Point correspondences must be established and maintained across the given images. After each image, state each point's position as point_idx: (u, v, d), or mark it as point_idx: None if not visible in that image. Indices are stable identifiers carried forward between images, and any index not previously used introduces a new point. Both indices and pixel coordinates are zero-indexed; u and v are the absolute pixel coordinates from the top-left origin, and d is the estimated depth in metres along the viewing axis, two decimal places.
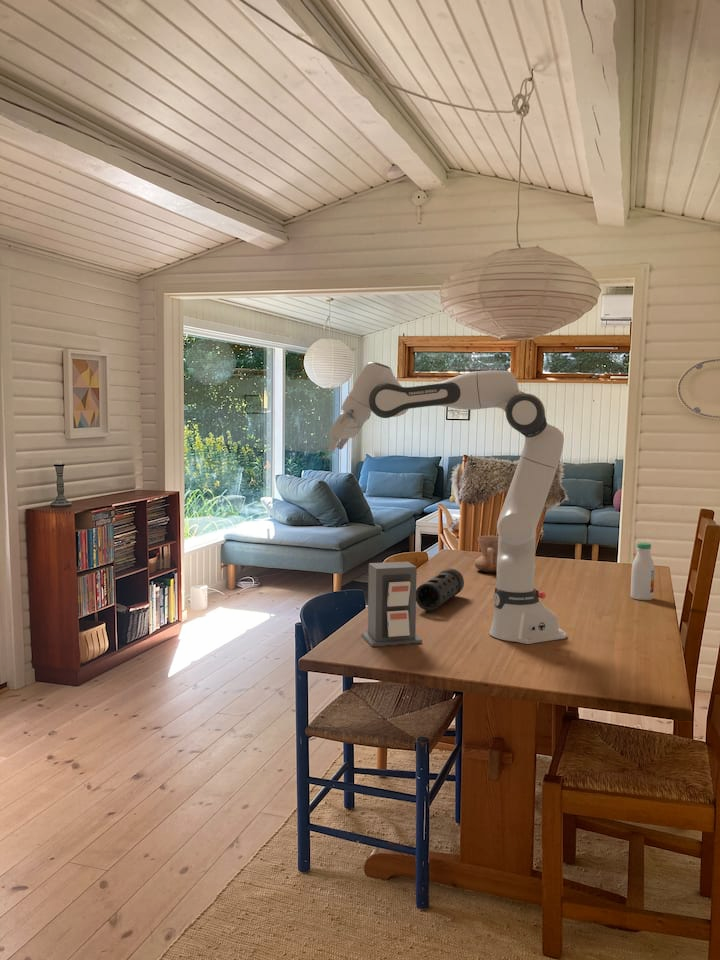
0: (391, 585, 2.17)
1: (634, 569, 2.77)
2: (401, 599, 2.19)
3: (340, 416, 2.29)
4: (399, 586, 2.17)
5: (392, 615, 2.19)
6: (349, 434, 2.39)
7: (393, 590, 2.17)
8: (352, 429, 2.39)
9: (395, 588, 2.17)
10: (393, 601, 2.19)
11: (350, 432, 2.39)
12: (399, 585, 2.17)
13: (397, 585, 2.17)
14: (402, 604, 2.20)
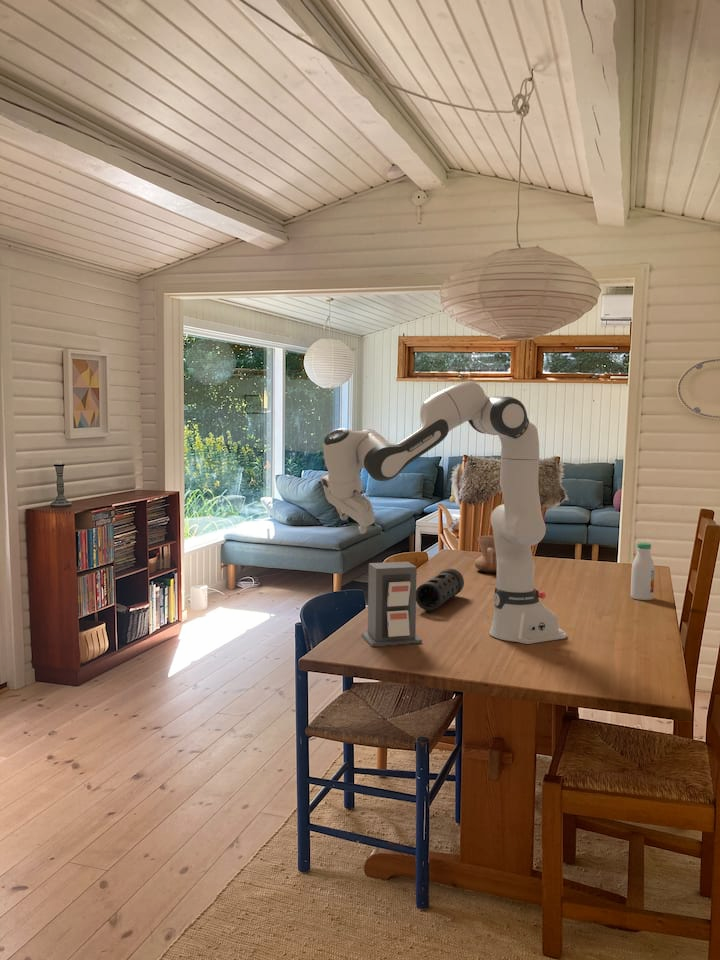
0: (391, 585, 2.17)
1: (634, 569, 2.77)
2: (401, 599, 2.19)
3: (362, 507, 2.09)
4: (399, 586, 2.17)
5: (392, 615, 2.19)
6: None
7: (393, 590, 2.17)
8: None
9: (395, 588, 2.17)
10: (393, 601, 2.19)
11: None
12: (399, 585, 2.17)
13: (397, 585, 2.17)
14: (402, 604, 2.20)
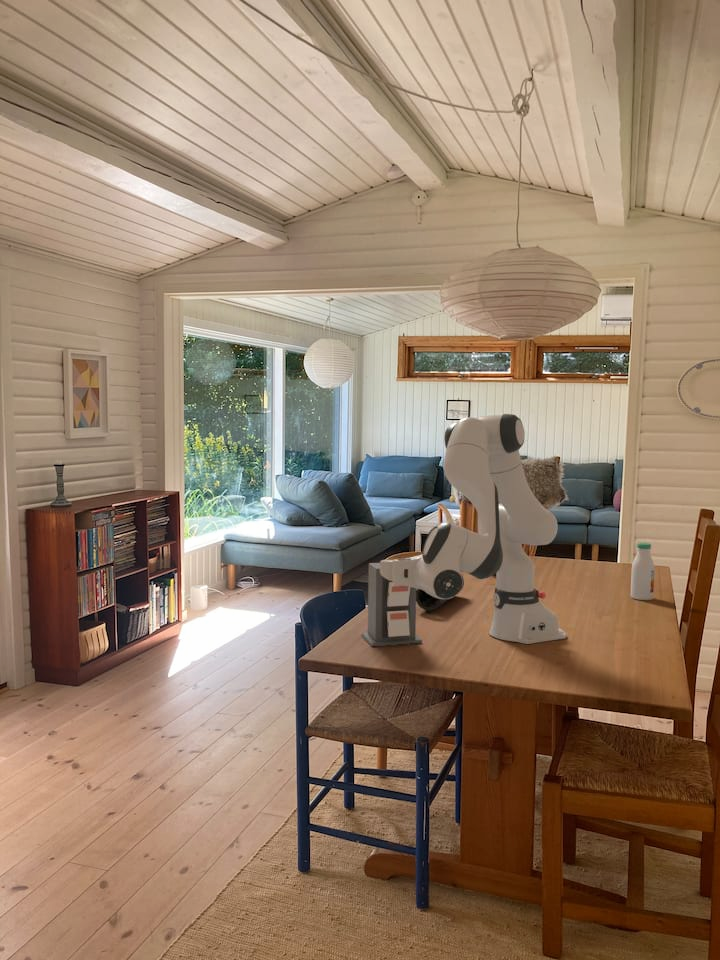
0: (391, 585, 2.17)
1: (634, 569, 2.77)
2: (401, 599, 2.19)
3: None
4: (399, 586, 2.17)
5: (392, 615, 2.19)
6: None
7: (393, 590, 2.17)
8: None
9: (395, 588, 2.17)
10: (393, 601, 2.19)
11: None
12: None
13: None
14: (402, 604, 2.20)
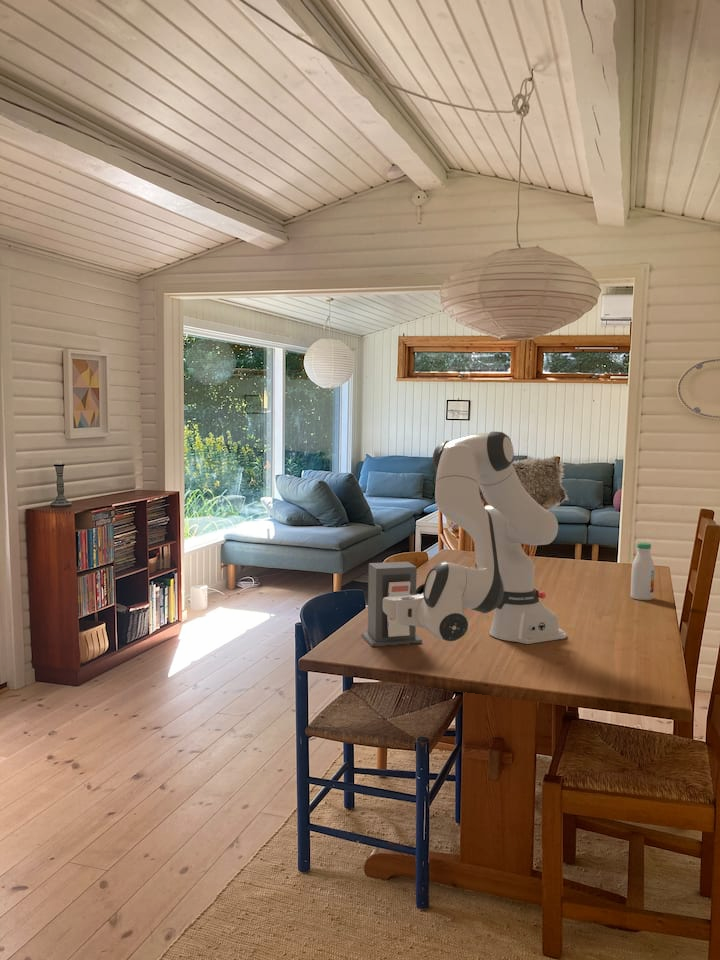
0: (391, 585, 2.17)
1: (634, 569, 2.77)
2: None
3: None
4: (399, 586, 2.17)
5: None
6: None
7: (393, 590, 2.17)
8: None
9: (395, 588, 2.17)
10: None
11: None
12: (399, 585, 2.17)
13: (397, 585, 2.17)
14: None
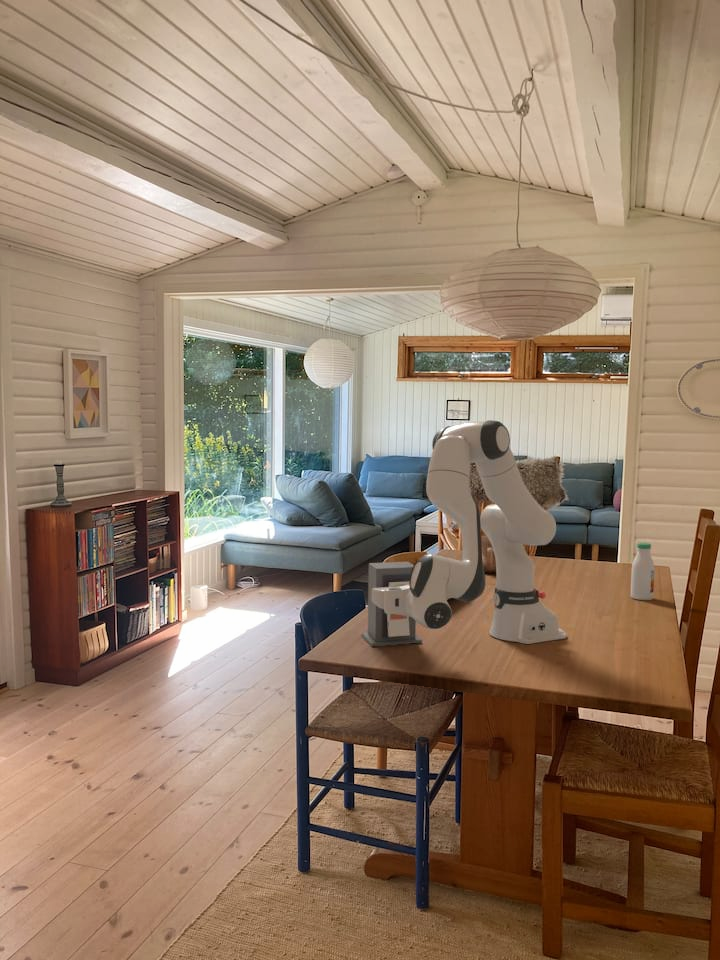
0: (391, 585, 2.17)
1: (634, 569, 2.77)
2: None
3: None
4: None
5: (392, 615, 2.19)
6: None
7: None
8: None
9: None
10: None
11: None
12: (399, 585, 2.17)
13: (397, 585, 2.17)
14: None
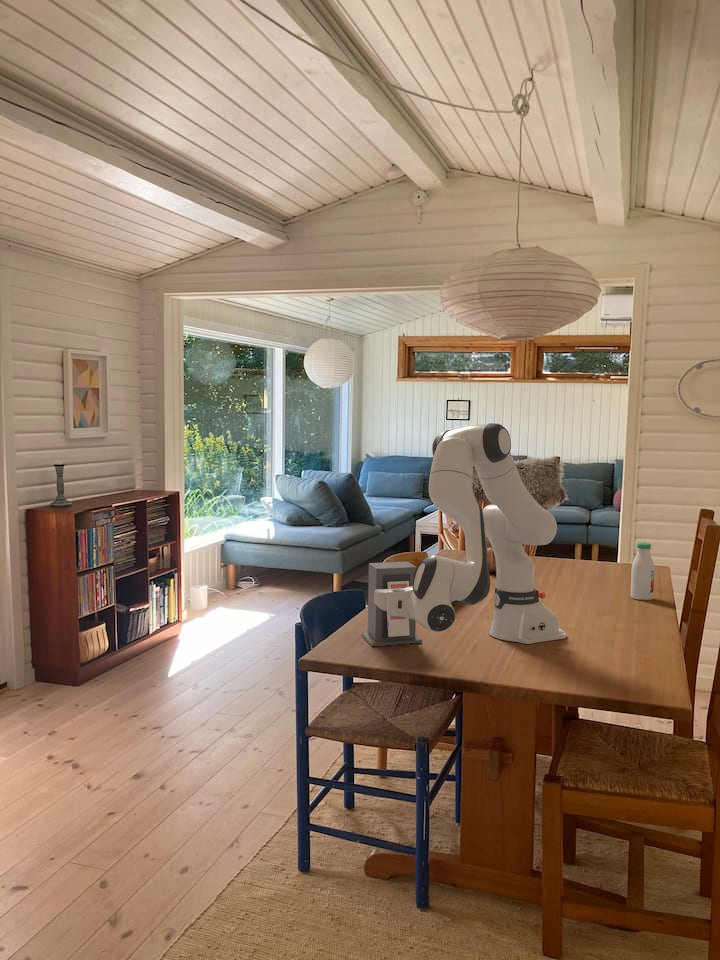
0: (389, 583, 2.18)
1: (634, 569, 2.77)
2: None
3: None
4: (397, 584, 2.19)
5: None
6: None
7: (392, 587, 2.18)
8: None
9: (394, 586, 2.18)
10: None
11: None
12: (398, 583, 2.19)
13: (395, 583, 2.19)
14: None
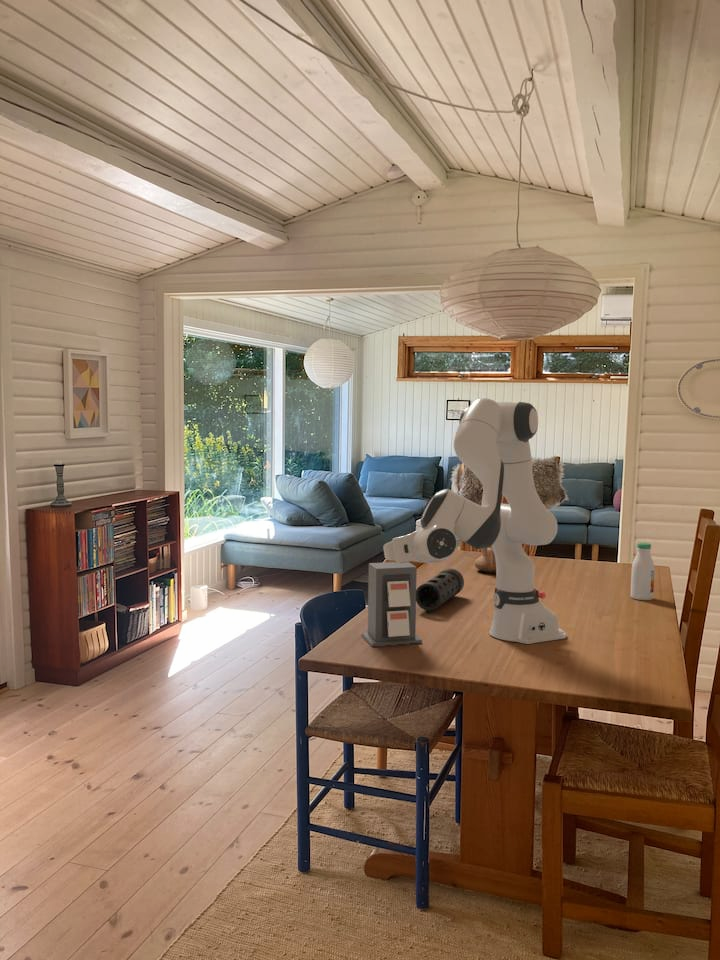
0: (389, 583, 2.19)
1: (634, 569, 2.77)
2: (402, 598, 2.18)
3: (460, 544, 2.00)
4: (397, 583, 2.19)
5: (392, 615, 2.19)
6: None
7: (392, 587, 2.18)
8: None
9: (394, 585, 2.18)
10: (394, 600, 2.18)
11: None
12: (398, 582, 2.19)
13: (395, 582, 2.19)
14: (404, 604, 2.18)
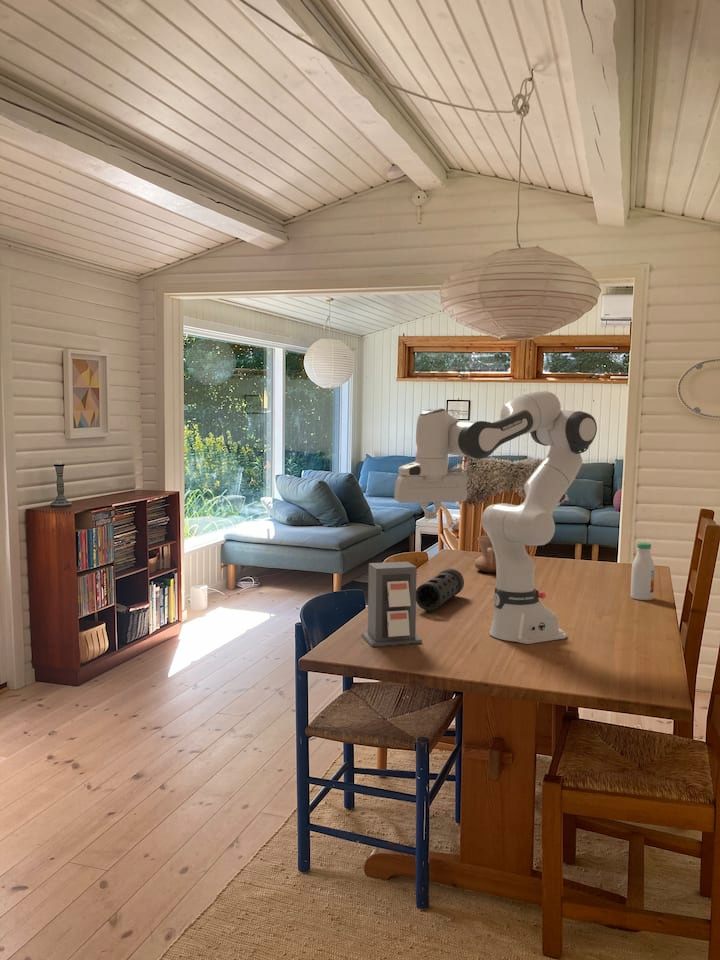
0: (389, 583, 2.19)
1: (634, 569, 2.77)
2: (402, 598, 2.18)
3: None
4: (397, 583, 2.19)
5: (392, 615, 2.19)
6: None
7: (391, 587, 2.18)
8: None
9: (394, 585, 2.19)
10: (394, 600, 2.18)
11: None
12: (397, 582, 2.19)
13: (395, 582, 2.19)
14: (404, 604, 2.18)
